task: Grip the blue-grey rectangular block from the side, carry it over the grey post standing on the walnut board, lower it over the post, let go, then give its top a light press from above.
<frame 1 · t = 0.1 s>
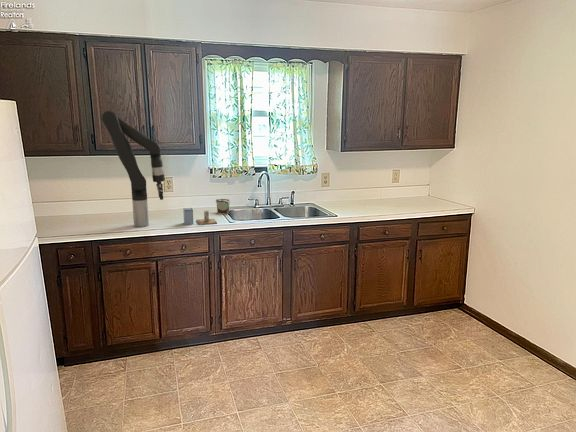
hand: (161, 198, 287), 17 cm above the worktop, tool pointing down, fingers open, 8 cm apart
post: (206, 222, 296), on the worktop
blue-grey rectangular block: (188, 223, 292), on the worktop
food container: (225, 213, 326), on the worktop
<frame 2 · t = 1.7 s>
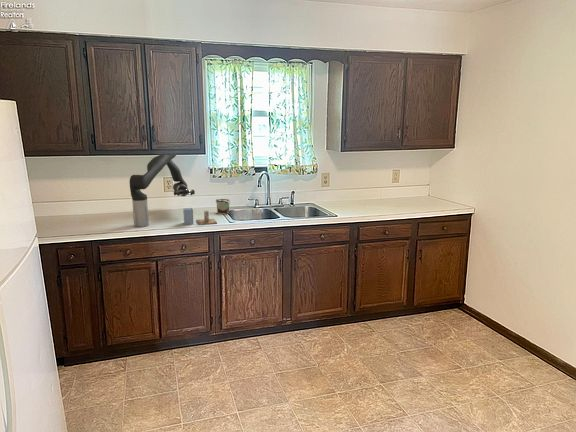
hand: (185, 194, 301), 18 cm above the worktop, tool horizontal, fingers open, 8 cm apart
nothing on the worktop moved.
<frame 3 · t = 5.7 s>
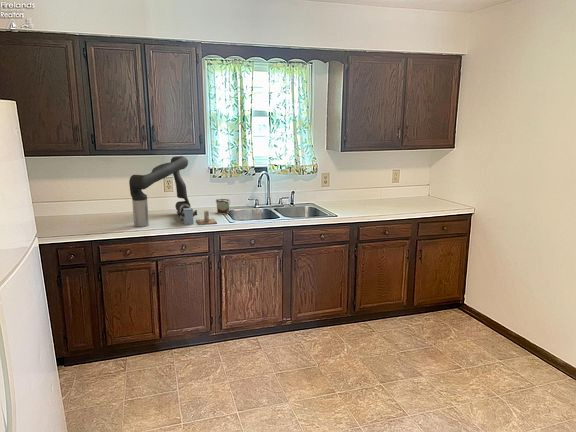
hand: (188, 215, 289), 6 cm above the worktop, tool horizontal, fingers closed on blue-grey rectangular block, 5 cm apart
blue-grey rectangular block: (188, 223, 292), on the worktop, touching gripper
everything else where it was.
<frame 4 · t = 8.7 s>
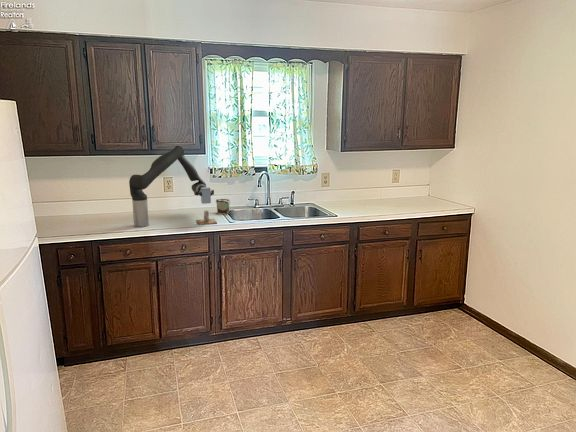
hand: (206, 194, 290), 20 cm above the worktop, tool horizontal, fingers closed on blue-grey rectangular block, 5 cm apart
blue-grey rectangular block: (206, 202, 293), point 14 cm above the worktop, touching gripper
everything else where it was.
when the fingers open (8 cm above the worktop, at t = 11.7 s): blue-grey rectangular block drops 1 cm, resting on post.
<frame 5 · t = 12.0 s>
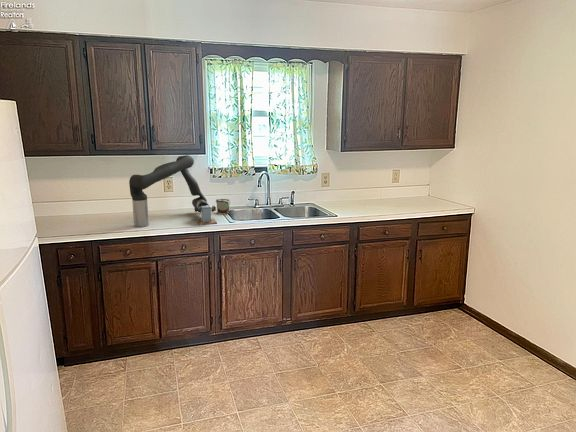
hand: (206, 210, 293), 8 cm above the worktop, tool horizontal, fingers open, 8 cm apart
blue-grey rectangular block: (206, 221, 296), point 1 cm above the worktop, touching post
everything else where it was.
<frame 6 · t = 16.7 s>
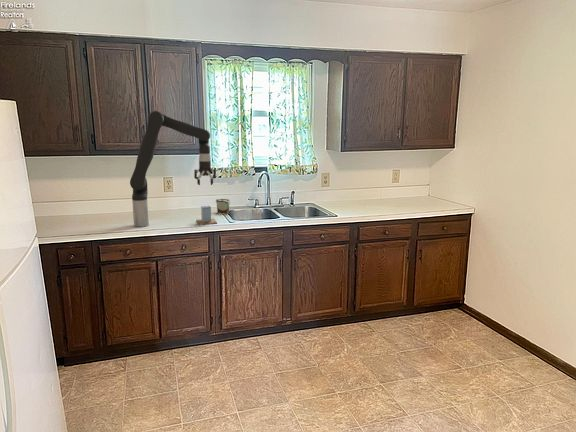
hand: (205, 184, 291), 26 cm above the worktop, tool pointing down, fingers open, 7 cm apart
nothing on the worktop moved.
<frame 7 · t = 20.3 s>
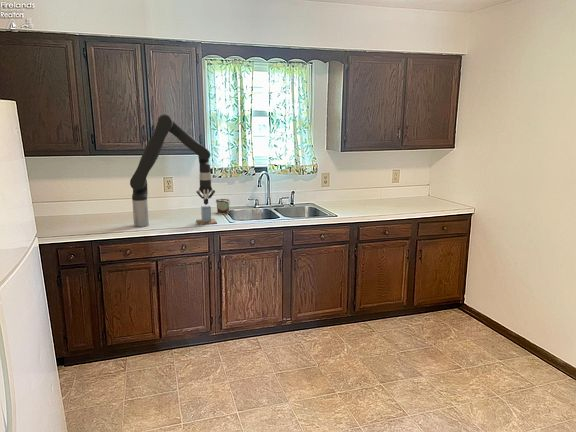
hand: (206, 204, 293), 12 cm above the worktop, tool pointing down, fingers closed
nothing on the worktop moved.
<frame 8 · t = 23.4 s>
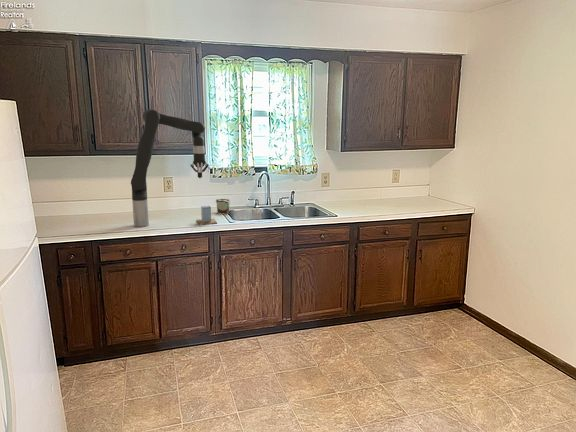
hand: (199, 178, 298), 29 cm above the worktop, tool pointing down, fingers closed
nothing on the worktop moved.
at the end: blue-grey rectangular block 0.1 cm from the post (horizontally); blue-grey rectangular block point 0.8 cm above the worktop; blue-grey rectangular block tilted 0° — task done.
